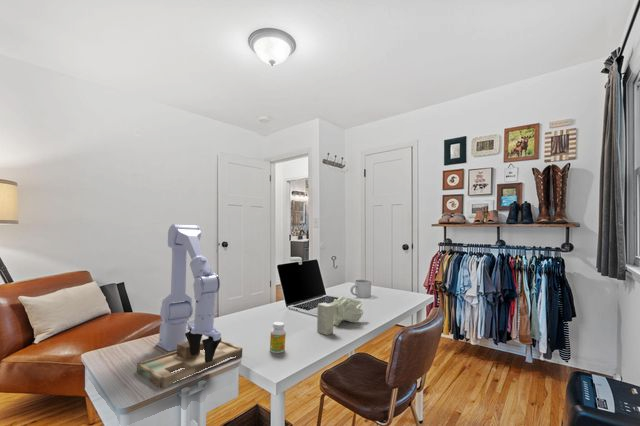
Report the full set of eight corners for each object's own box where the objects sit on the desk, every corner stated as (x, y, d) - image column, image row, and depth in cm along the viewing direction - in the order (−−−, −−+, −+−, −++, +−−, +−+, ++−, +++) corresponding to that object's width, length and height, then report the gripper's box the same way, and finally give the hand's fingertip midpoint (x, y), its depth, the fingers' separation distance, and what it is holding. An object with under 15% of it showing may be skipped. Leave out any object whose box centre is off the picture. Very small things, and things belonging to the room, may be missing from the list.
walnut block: (176, 355, 98) (177, 343, 98) (190, 350, 102) (191, 339, 102) (185, 359, 95) (186, 347, 95) (199, 354, 99) (200, 343, 100)
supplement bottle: (270, 354, 107) (272, 326, 108) (268, 348, 113) (270, 321, 113) (285, 353, 109) (287, 325, 109) (283, 347, 114) (284, 320, 115)
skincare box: (333, 333, 132) (334, 305, 133) (326, 335, 129) (328, 306, 129) (322, 329, 136) (324, 302, 137) (315, 331, 133) (317, 303, 134)
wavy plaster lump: (345, 332, 153) (350, 302, 161) (364, 333, 144) (368, 300, 152) (318, 322, 144) (325, 290, 152) (337, 322, 135) (343, 288, 143)
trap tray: (136, 372, 90) (137, 363, 90) (216, 345, 113) (217, 337, 113) (160, 388, 82) (161, 378, 82) (242, 355, 105) (242, 348, 105)
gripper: (179, 311, 96) (176, 355, 96) (207, 321, 88) (204, 369, 87) (199, 307, 102) (196, 348, 101) (227, 316, 94) (224, 361, 93)
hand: (201, 358), depth 95 cm, fingers open, 7 cm apart
